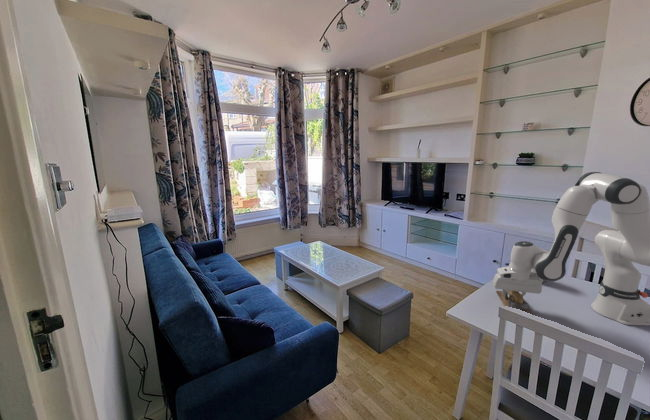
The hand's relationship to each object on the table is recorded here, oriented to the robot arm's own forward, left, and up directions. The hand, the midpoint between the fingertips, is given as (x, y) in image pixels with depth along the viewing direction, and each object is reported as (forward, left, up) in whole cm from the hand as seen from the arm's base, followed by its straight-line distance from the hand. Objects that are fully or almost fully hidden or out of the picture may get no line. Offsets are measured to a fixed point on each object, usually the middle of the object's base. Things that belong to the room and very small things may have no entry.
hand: (514, 297), depth 136 cm
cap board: (0, 0, -4) cm, 4 cm away
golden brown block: (0, 0, -2) cm, 2 cm away
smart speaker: (-21, -30, -4) cm, 37 cm away
